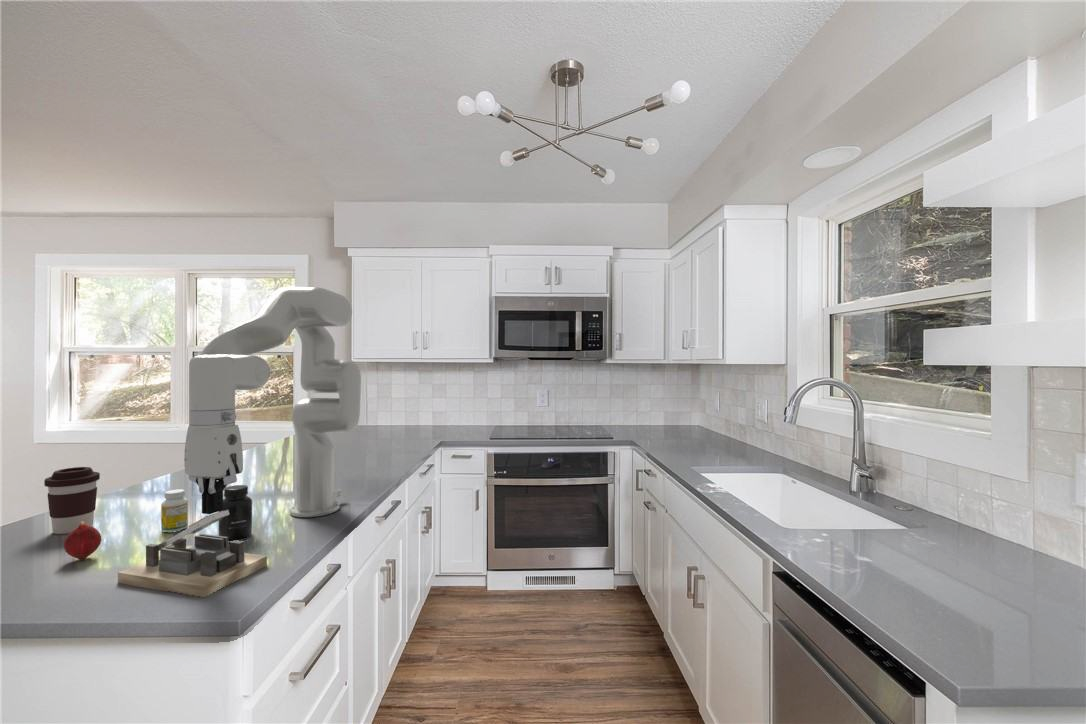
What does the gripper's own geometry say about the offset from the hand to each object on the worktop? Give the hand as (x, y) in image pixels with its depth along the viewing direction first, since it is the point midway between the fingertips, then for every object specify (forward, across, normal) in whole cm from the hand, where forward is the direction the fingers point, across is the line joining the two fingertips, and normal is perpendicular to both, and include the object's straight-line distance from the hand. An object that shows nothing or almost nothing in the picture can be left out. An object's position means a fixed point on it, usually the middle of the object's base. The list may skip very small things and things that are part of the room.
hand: (212, 511), depth 96 cm
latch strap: (+5, +5, 0) cm, 7 cm away
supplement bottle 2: (+13, +14, -18) cm, 26 cm away
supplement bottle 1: (+13, +33, -18) cm, 40 cm away
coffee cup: (+13, +57, -11) cm, 60 cm away
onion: (+13, +34, +1) cm, 36 cm away
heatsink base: (+13, +5, 0) cm, 14 cm away
